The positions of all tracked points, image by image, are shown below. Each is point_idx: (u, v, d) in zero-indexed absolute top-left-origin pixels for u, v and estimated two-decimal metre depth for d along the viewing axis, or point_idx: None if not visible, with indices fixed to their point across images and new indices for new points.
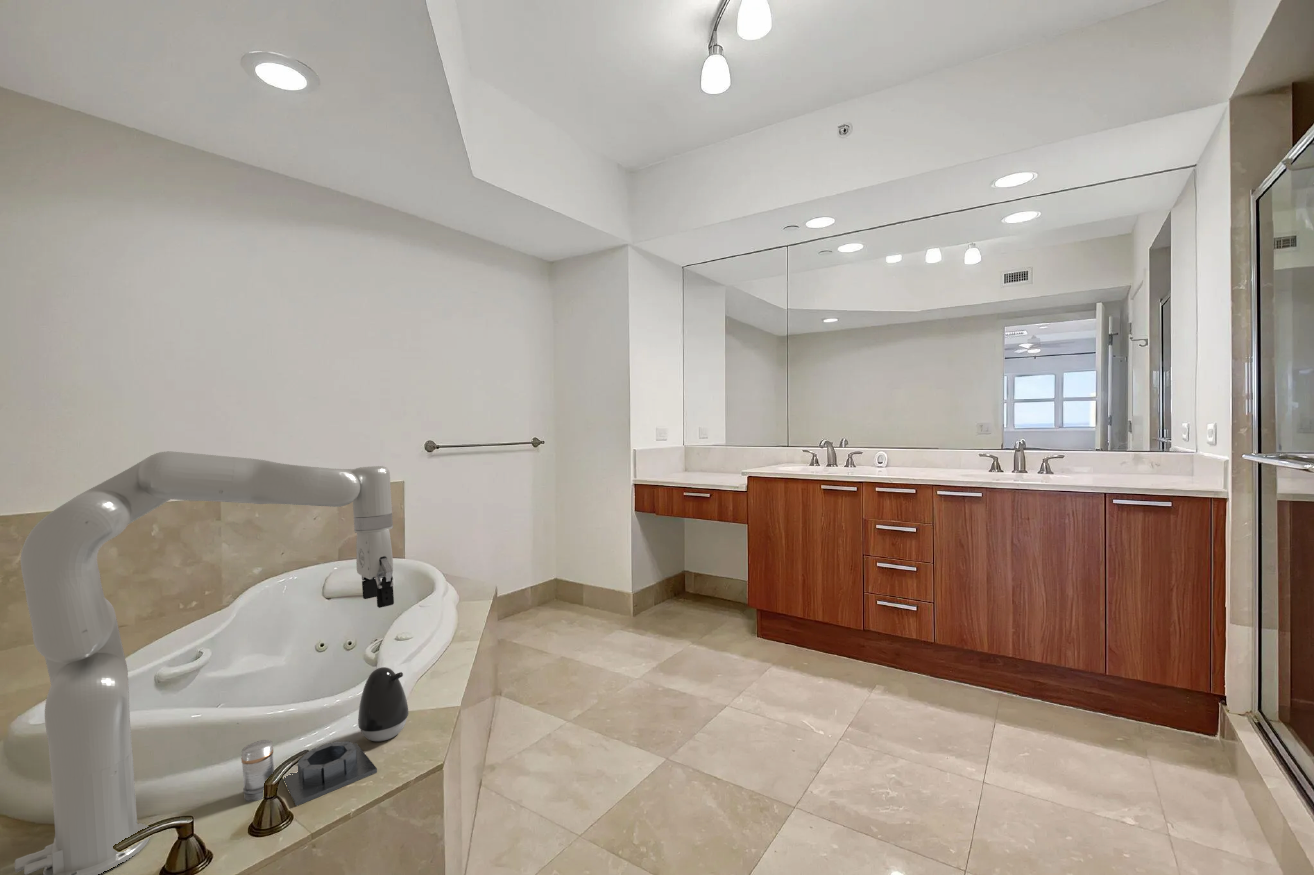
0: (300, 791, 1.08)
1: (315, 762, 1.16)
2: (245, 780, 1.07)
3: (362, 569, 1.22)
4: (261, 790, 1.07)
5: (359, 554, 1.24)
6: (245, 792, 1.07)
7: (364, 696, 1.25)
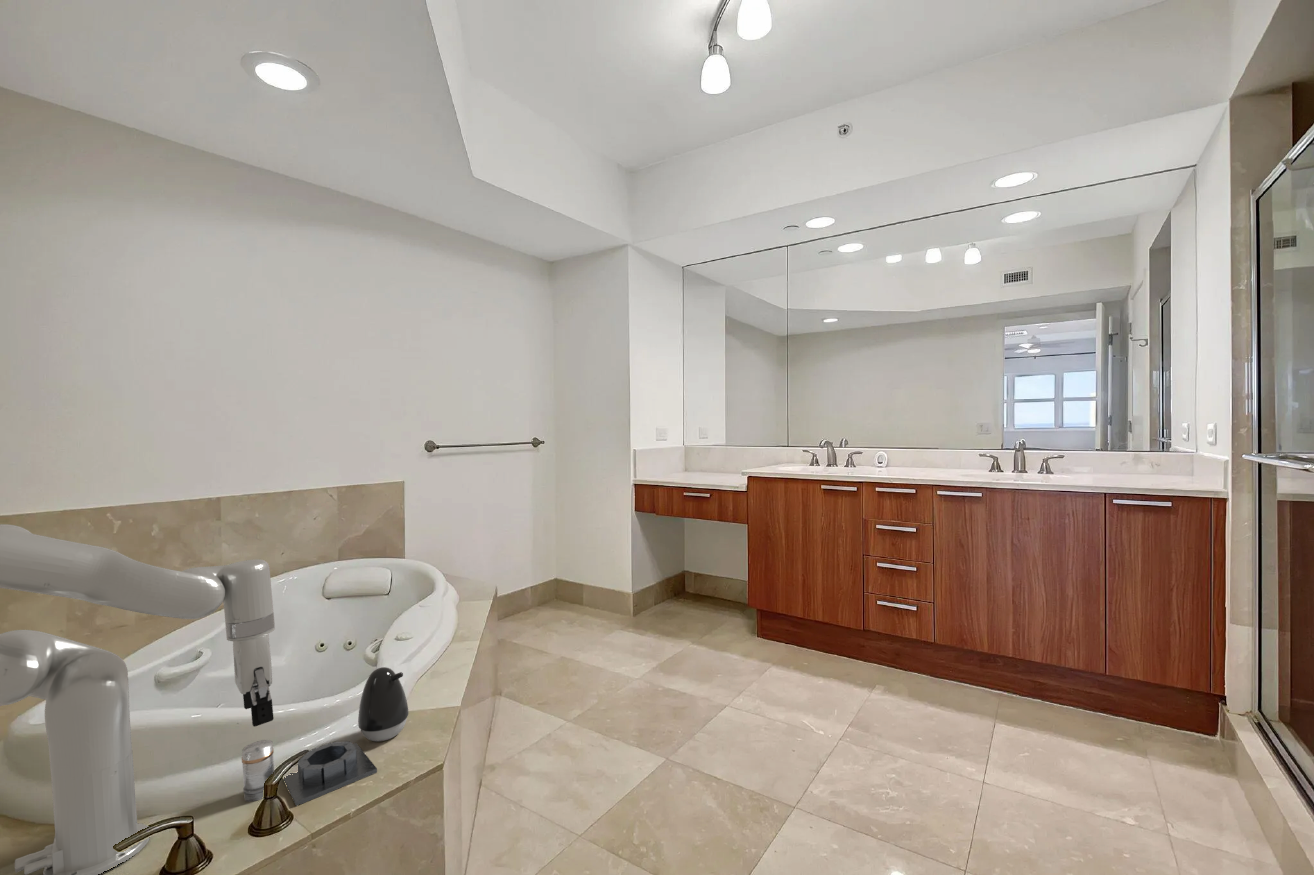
0: (300, 791, 1.08)
1: (315, 762, 1.16)
2: (245, 780, 1.07)
3: (237, 680, 1.07)
4: (261, 790, 1.07)
5: (234, 662, 1.08)
6: (245, 792, 1.07)
7: (365, 696, 1.25)
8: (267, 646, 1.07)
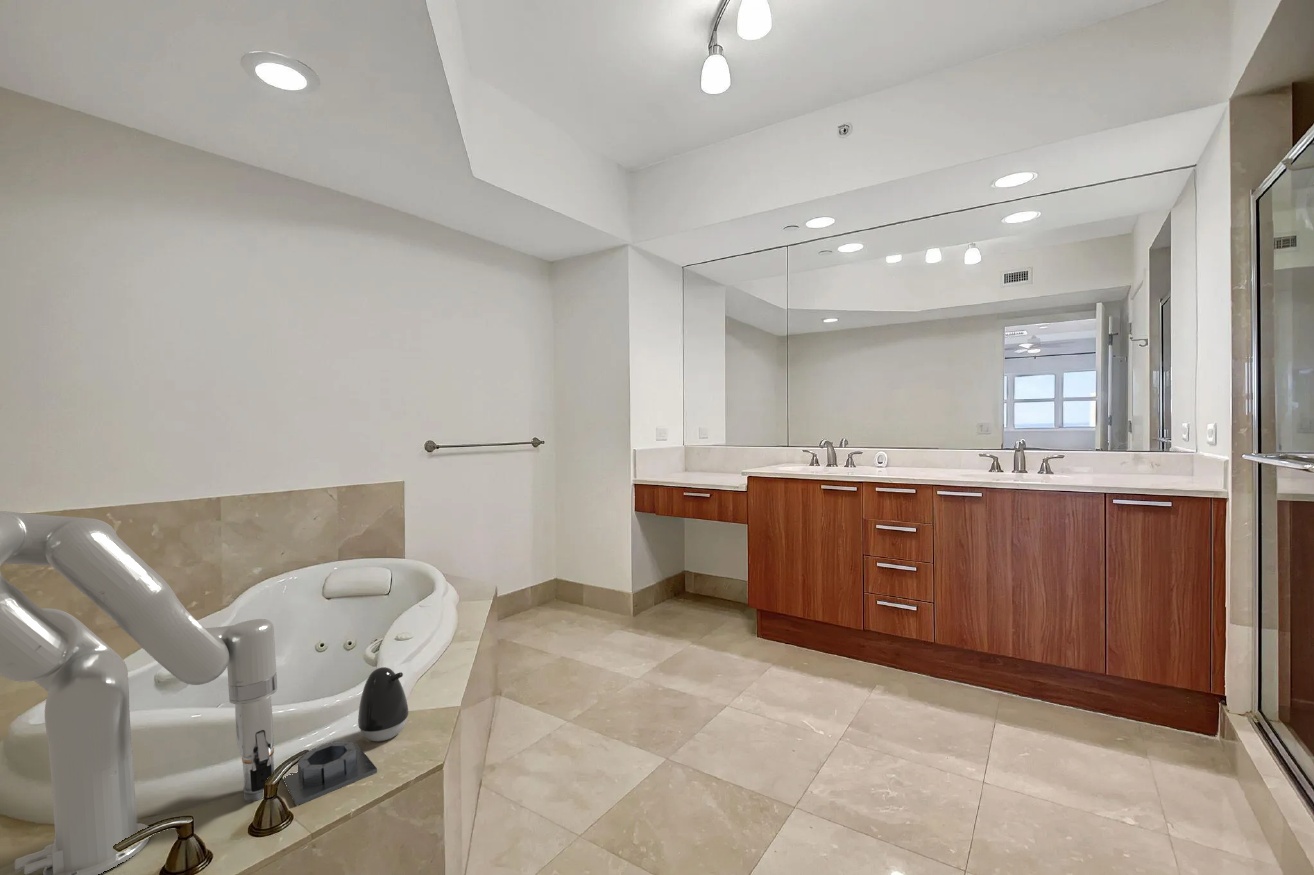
0: (300, 791, 1.08)
1: (315, 762, 1.16)
2: (245, 780, 1.07)
3: (238, 742, 1.07)
4: (261, 790, 1.08)
5: (236, 723, 1.08)
6: (245, 792, 1.07)
7: (364, 696, 1.25)
8: (269, 708, 1.07)
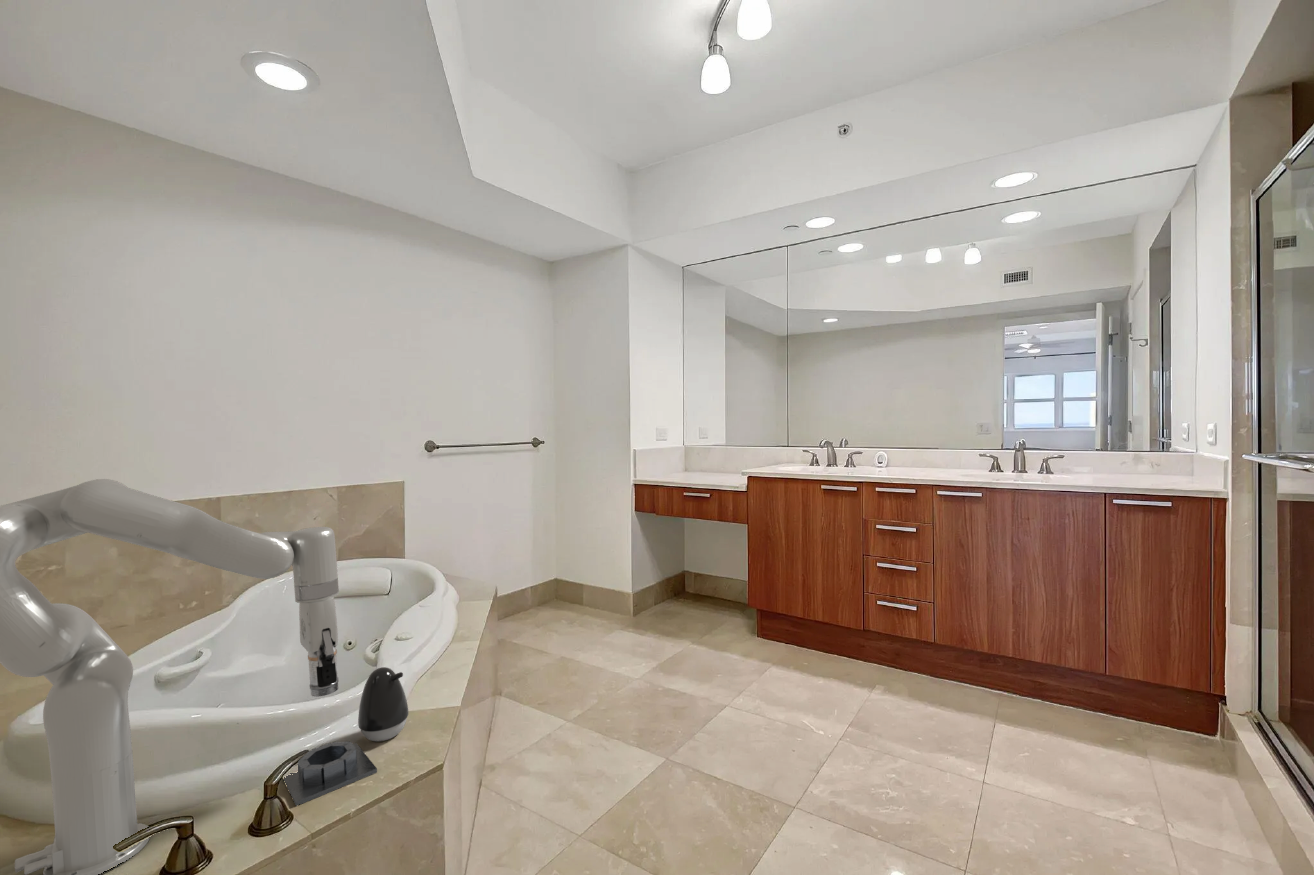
0: (300, 791, 1.08)
1: (315, 762, 1.16)
2: (312, 676, 1.12)
3: (304, 641, 1.12)
4: (327, 686, 1.13)
5: (301, 624, 1.13)
6: (312, 688, 1.12)
7: (365, 696, 1.25)
8: (333, 609, 1.12)
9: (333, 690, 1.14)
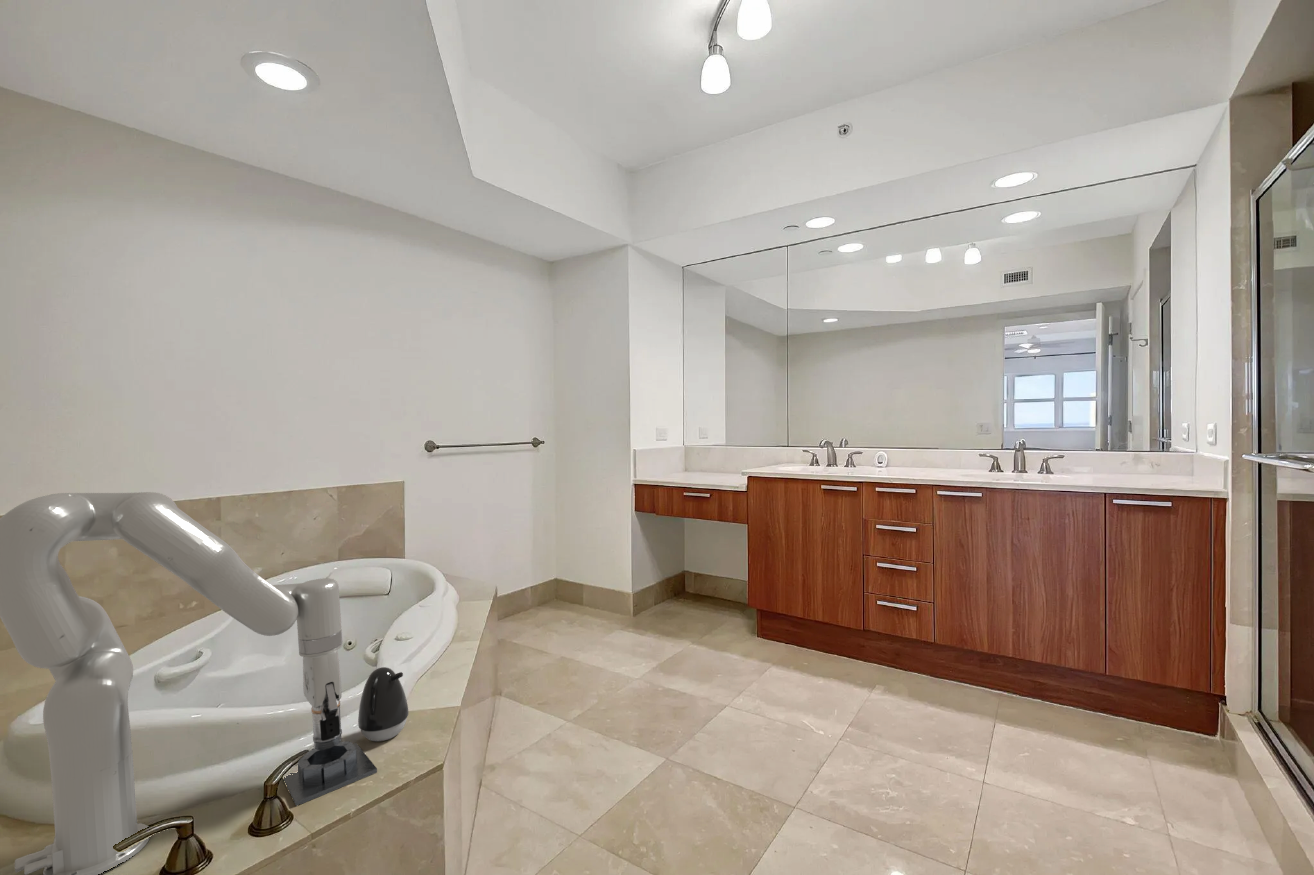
0: (300, 791, 1.08)
1: (315, 762, 1.16)
2: (315, 729, 1.12)
3: (308, 694, 1.12)
4: (330, 739, 1.13)
5: (305, 677, 1.14)
6: (315, 741, 1.12)
7: (365, 696, 1.25)
8: (337, 662, 1.12)
9: (337, 743, 1.14)
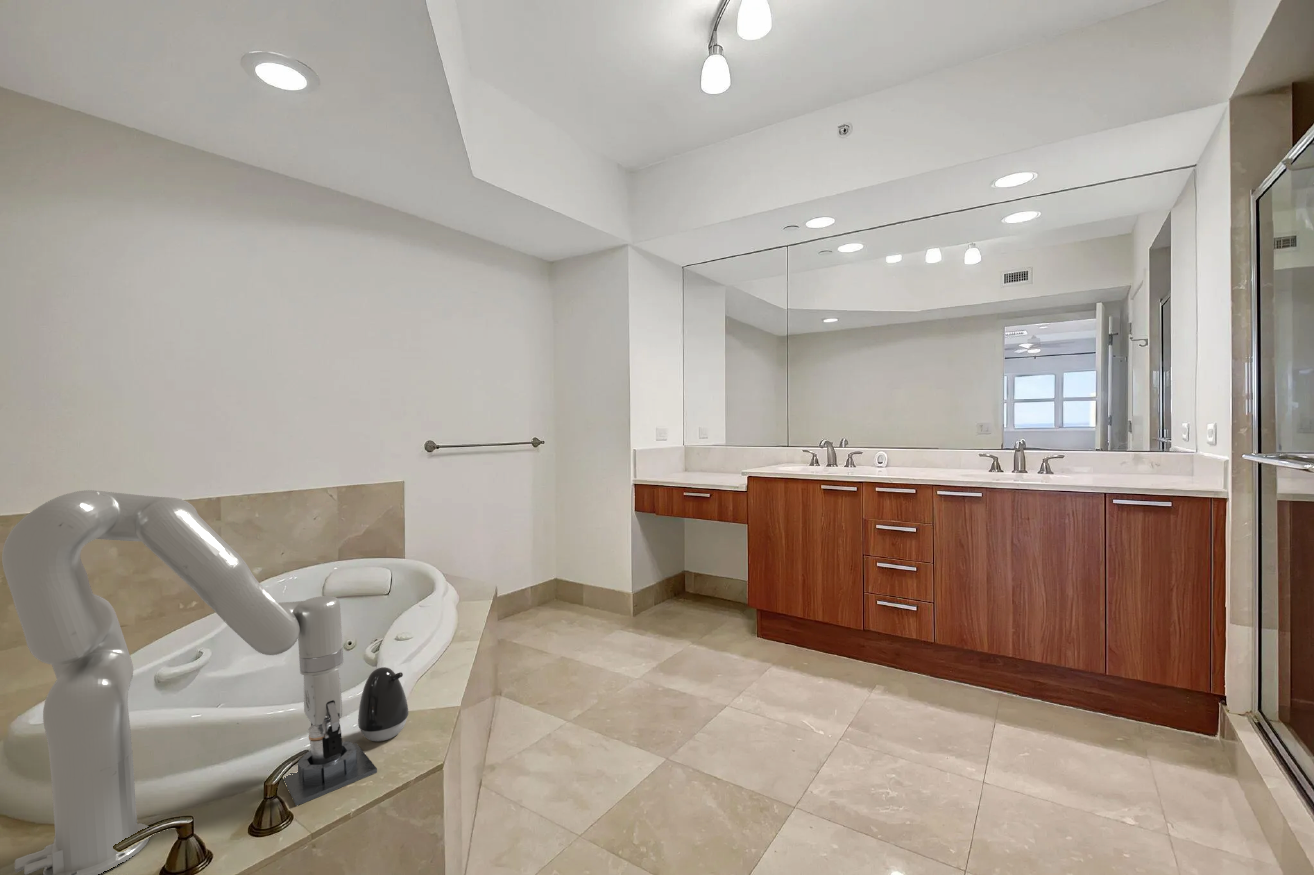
0: (300, 791, 1.08)
1: None
2: (314, 756, 1.12)
3: (308, 713, 1.12)
4: None
5: (306, 695, 1.14)
6: None
7: (364, 696, 1.25)
8: (338, 680, 1.12)
9: None
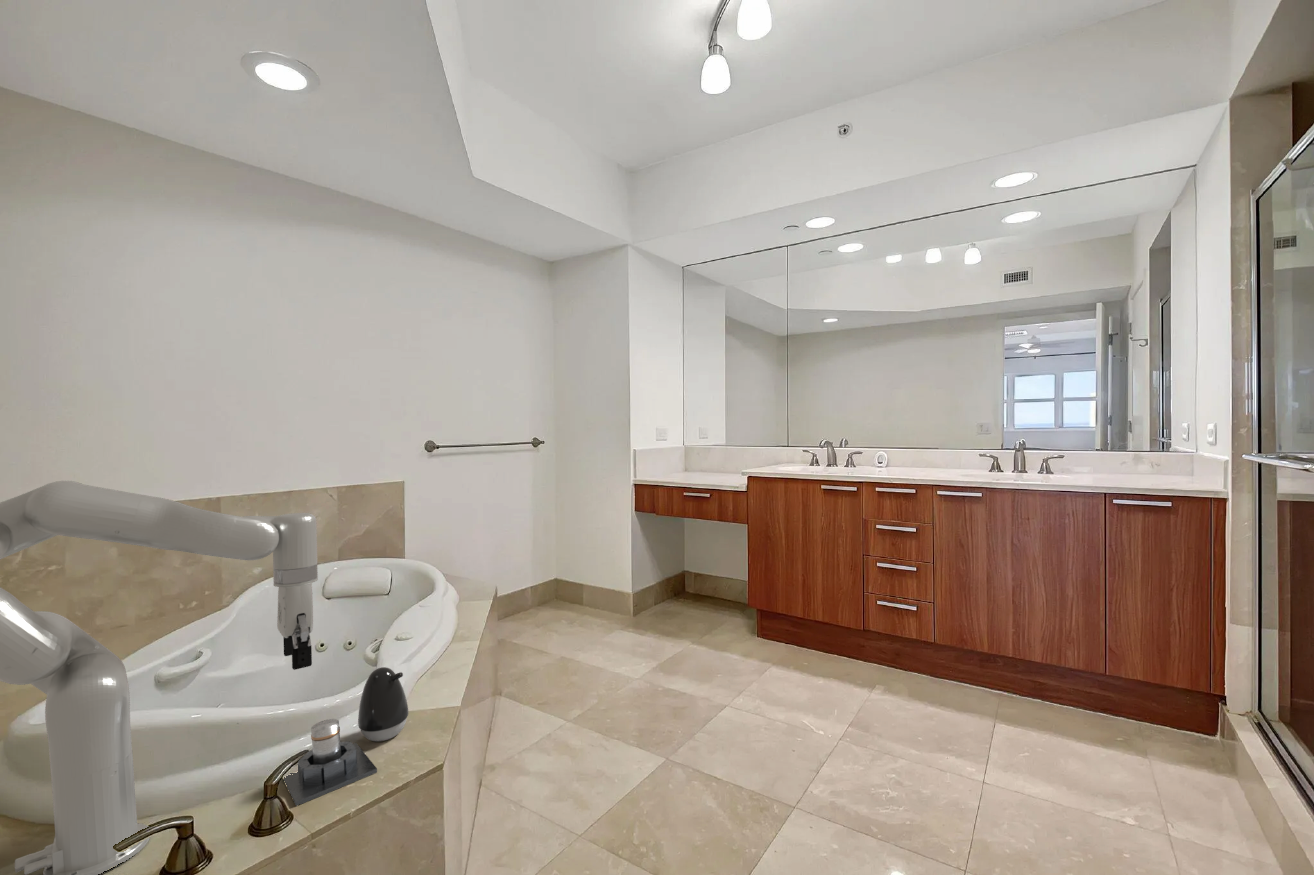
0: (300, 791, 1.08)
1: None
2: (315, 756, 1.12)
3: (280, 625, 1.13)
4: None
5: (278, 608, 1.14)
6: None
7: (364, 696, 1.25)
8: (310, 594, 1.13)
9: None
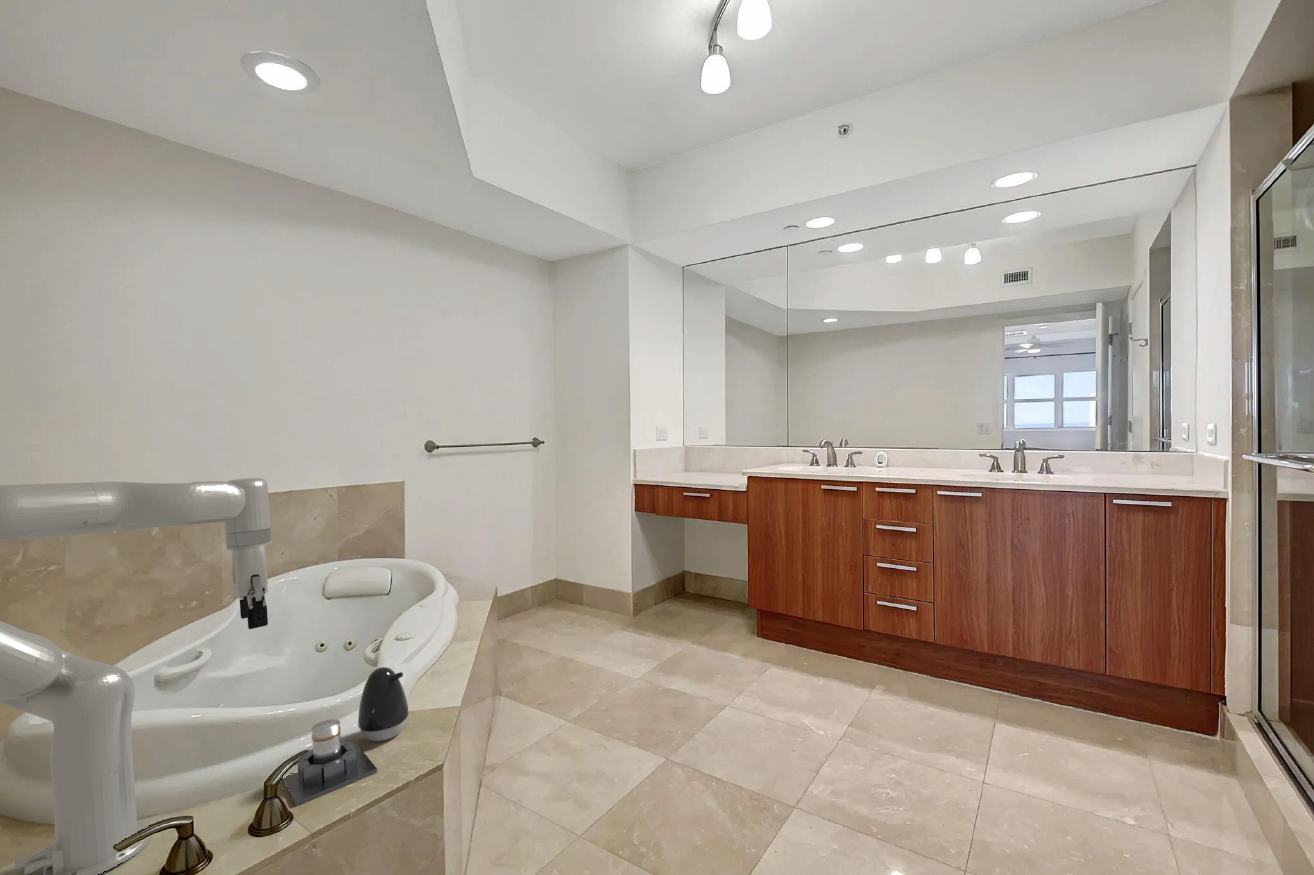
0: (300, 791, 1.08)
1: None
2: (316, 757, 1.12)
3: (235, 588, 1.15)
4: None
5: (233, 571, 1.17)
6: None
7: (365, 696, 1.25)
8: (264, 556, 1.15)
9: None
